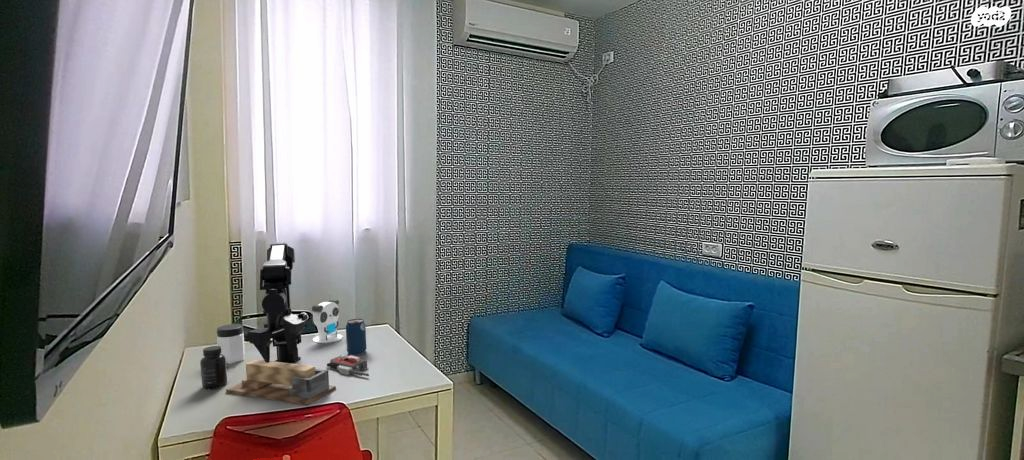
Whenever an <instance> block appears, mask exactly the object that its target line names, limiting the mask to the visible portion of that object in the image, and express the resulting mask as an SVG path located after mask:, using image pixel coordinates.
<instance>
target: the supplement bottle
mask: <svg viewBox="0 0 1024 460" xmlns="http://www.w3.org/2000/svg"><path fill="white" fill-rule="evenodd" d="M202 353H203V354H202V356H203V357H202V358H201V359H200V362H199V363H200V364H199V365H200V367H199V368H200V376H201V378H200V379H201V387H202V388H203V389H204V390H208V389H210V390H218V389H220V388H222V387H224V386H226V385H227V384H228V373H227V372H228V371H227V370H228V369H227V364H226V358H225V356H224V355H222V354H221V353H222V351H221V347H220V346H218V345H211V346H207V347H205V348H203V349H202Z"/></svg>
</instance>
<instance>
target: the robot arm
mask: <svg viewBox="0 0 1024 460" xmlns="http://www.w3.org/2000/svg"><path fill="white" fill-rule="evenodd" d="M295 262H296V255H295V249H294V248H293V247H291V246H289V245H288V243H287V242H286V243H285V242H272V243H271V244H269V248H267V249H266V261H265V262H263V265H262V268H260V271H259V273H260V274H259V291H265V295H264V296H263V299H262V301H261V306H262V309H263V311H262V314H263V315H266V323H264V324H263V328H255V329H252V330H249V331H247V332H246V334H245V342H246V343H249V344H252V345H253V346H254V347H255V348H256V350H257V351H258V353H259V354H260V355H261V357H262V360H265V362H266V363H269V361H271V351H270V349H271V348H270V347H271V344H272V348H274V347H276V360H275V359H274V361H275V362H283V363H291V364H293V363H294V362H296V361H298V360H301V359H302V357H300V356H299V348H298V345H300V344H301V343H302V332H303V331H304V330H305V328H307V327H308V320H309V318H308V313H306V312H304V311H303V312H301V313H298V314H293V311H292V307H291V292H290V291H291V290H290V288H291V287H290V285H292V270H293V267H294V263H295Z"/></svg>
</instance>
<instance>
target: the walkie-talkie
mask: <svg viewBox="0 0 1024 460" xmlns="http://www.w3.org/2000/svg"><path fill="white" fill-rule="evenodd" d="M326 367H329V368H330V369H332V370H337V371H338V373H339V374H340V375H341V374H342V375H345V376H350V375H357V376H361V377H362V376H363V377H364V376H365V377H369V376H370V374H369V373H366V372H362V371H363V370H366V369H367V368H368V361H367V360H365V359H361V357H360V356H358V355H350V354H349V355H348V356H346V355H345V354H344V355H339V356H337V357H334V358H331V359H330V360H329V362H327V363H326Z"/></svg>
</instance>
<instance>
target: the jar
mask: <svg viewBox="0 0 1024 460" xmlns="http://www.w3.org/2000/svg"><path fill="white" fill-rule="evenodd" d="M216 334H217V335H216V336H217V337H216V341H217V342H216V343H217V346H220V347H221V351H222V353H221V354H222V355H224V356H225V358H226V365H228V364H230V365H231V364H234V363H238V362H242V361H244V360H245V357H246V351H245V349H246V348H245V337H244V336H245V334H244V325H243V324H240V323H232V324H231V323H230V324H224V325H221V326H219V327H217V328H216Z"/></svg>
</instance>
